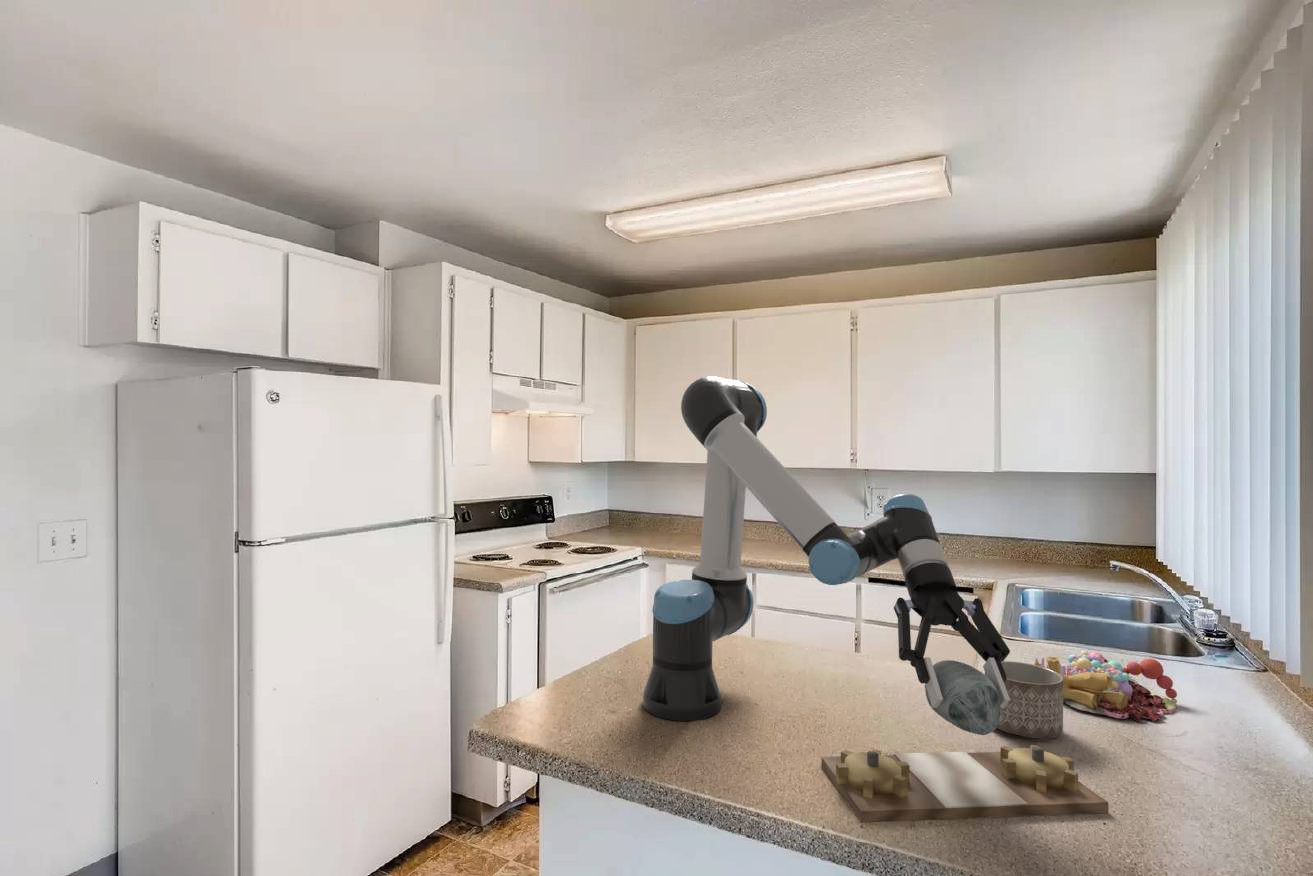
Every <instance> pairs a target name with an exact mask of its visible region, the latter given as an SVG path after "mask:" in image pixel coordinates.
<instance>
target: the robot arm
mask: <svg viewBox="0 0 1313 876" xmlns="http://www.w3.org/2000/svg"><path fill="white" fill-rule="evenodd" d="M680 403H681V404H680V411H681V415H682V419H683V421H684V423H685V425H686V427H687V428H688V430H689V431H690V433H692V435H693V436H694V437H695V438H696V439H697V441H698V442H699V443H700V445H702V446H703V447H704V448H705V450H706V451H707V452H706V455H707V457H706V469H705V483H704V484H705V485H704V500H703V501H704V502H703V513H702V527H701V530H702V531H701V544H700V559H699V563H698V564H697V565H696V566H694V568H693V569H692V571H691V572H692V573H691V579H680V580H677V581H676V580H674V581H670V582H666V583H664V584H662V585H661V586H659V587H658V588H657V589H656V591H655V592H654V595H653V596H654V597H653V605H652V610H651V611H652V616H653V617H652V618H653V619H652V623H653V624H652V667H651V669H650V671H649V675H648V678H647V681H646V683H645V688H644V689H643V694H642V707H643V709H644V710H645V711H646V712H648V713H649V714H650V715H652V716H655V717H658V718H662V719H666V720H672V721H683V722H684V721H686V722H687V721H698V720H703V719H707V718H710V717H713V716H714V715H716V714H718V713H719V712H720V710H721V705H722V704H721V703H722V700H721V699H722V696H721V693H720V689H719V686H718V682H717V679H716V675H715V672H714V669H713V642H715V641H718V640H719V639H721V638H724V637H725V636H730V635H732V634H734V633H736V632H738V631H739V630H740V629H741V628H743V627H744V626H745V625H746V624H747V623H748V621H749V620H750V618H751V617H752V614H753V610H754V596H753V595H754V594H753V592H752V590H751V589H750V588H749V586H748V584H747V580H748V575H747V573H746V571H745V570H744V569H743V567H741V566H742V564H741V563H742V562H741V561H742V550H743V548H742V547H743V534H744V523H745V522H744V519H745V506H746V505H745V504H746V489H748V490H749V492H750V493H751V494H752V495H753V496H754V497H755V498H756V499H757V501H759V503H760V504H761V505H762V506H763V508H765V509H766V510H767V512H768V513H769V514H770V515H771V517H773V519H774V521H776V522H777V524H779V525H780V526H781V528H782V529H783V530H784V531H785V532H786V533H787V534H788V535H789V537H790V538H791V539H792V540H793V541H794V543H795V544H796V545H797V546H798V547H799V548H800V549H801V551H802V552H804V554H805V555H806V556H807V557H808V565H809V566H808V567H809V569H810V572H811V574H812V575H813V577H814V578H815V579H816V580H817V581H819V582H820V583H822V584H824V585H829V586H837V585H843V584H847V583H849V582H852V581H853V580H855V578H858V577H860V576H863V575H864V574H866V573H868V572H870V571H872V570H874V569H877V568H879V567H881V566H883V565H885V564H887V563H889V562H892V561H893V560H896V559H897V560H898V563H899V566H900V570H901V573H902V575H903V577H904V583H905V586H906V588H907V589H906V590H907V592H908V595H909V598H910V599H905V598H903V597H898V598H897V599H896V602H895V603H894V605H893V610H894V612H895V613H894V614H895V615H896V617H897V631H898V632H897V633H898V634H897V636H898V641H897V642H898V658H899V660H900V661H902V662H905V661H909V662H910V664H909V665H911V667H913V668H915V673H916V676H917V680H918V682H919V683H920V684H924V685H925V684H926V687H927V691H928V694H929V697H930V701H931V704H932V708H938V706H939V705H940V703H941V702H942V701H943V697H942V694H941V690H940V687H939V684H938V681H937V678H936V674H935V671H934V668H933V665H934V664H933V662H932V659H931V657H929V656H928V657H927V656H925V653H926V649H927V645H928V639H929V637H930V631H931V627H932V626H935V627H936V626H939V625H942V626H946V627H948V626H950V627H951V628H952V629H953V630H954V631H955V632H958V633H959V634H960V635H961V636H962V637H963V639H965V640H966V642H968V644H969V645H970V646H971V647H972V648H973V649H974V651H975V652H976V653H977V654H978V655H979V656H980V657H981V659H983V661H984V662H985V663H984V664H983V666H982V668H983V671H984V674H985V673H986V676H987V677H988V678H989V679H990V680H991V681H992V682H993V684H994V685H995V687H996V689H997V691H998V694H999V698H1000V708H1004V707H1005V705H1006V704H1007V703H1008V702H1009V701H1010V698H1009V695H1008V693H1007V690H1006V687H1005V685H1004V682H1005V681H1006V678H1007V676H1006V674H1005V671H1004V669H1003V666H1002V664H1001V662H1002V661H1006V660H1005V659H1007V657H1008V656H1009V654H1010V653H1011V650H1010V648H1009V646H1008V645H1007V643H1006V642H1005V640H1004V639H1003V638H1002V636H1001V635H1000V633H999V632H998V630H997V628H996V627H995V625H994V624H993V622H992V621H991V619H990V618H989V616H988V614H987V613H986V611H985V609H984V605H983V601H982V600H981V598H978V597H976V598H974V600H966V599H965V600H964V599H963V597H962V596H960V594H959V592H958V588H957V584H956V581H955V580H954V576H953V574H952V571H951V568H950V567H949V565H950V564H949V562H948V559H947V557H946V555H945V552H944V549H943V547H942V545H941V542H940V539H939V536H938V534H937V531H936V528H935V525H934V521H933V517H932V515H931V514H930V513H929V510H928V508H927V506H926V504H925V502H924V499H923V498H921V497H919V496H918V495H916V494H913V493H912V494H911V493H900V494H897V495H894V496H892V497H891V498H889V499H888V501H887V502H886V503H884V504H883V510H882V512H883V513H882V514H883V517H880V518H878V519H877V520H876V521H874V522H872V523H870V524H868V525H866V526H864V527H862V528H859V529H857V530H854V531H852V532H850V533H846V532H845V531H844V530H843V529H842V528H841V527H840V526H839V525H838V523H836V522H835V520H834V519H833V518H832V517H831V516H830V515H829V514H828V512H826V510H824V508H823V507H822V506H821V505H820V504H819V503H818V502H817V500H815V499H814V497H813V496H811V495H810V493H809V492H808V491H807V490H806V489H805V488H804V487H803V486H802V484H801V483H800V482H798V480H797V479H796V478H795V477H794V476H793V475H792V473H790V472H789V470H788V469H787V468H785V466H784V465H783V464H782V463H781V462H780V461H779V460H778V458H777V457H776V456H775V455H774V454H772V452H771V451H770V450H769V449H768V447H766V446H765V445H764V444H763V442H762V441H760V439H759V438H758V432H759V431H760V430H761V429H762V428H763V426H764V425H765V422H766V420H767V415H768V412H767V411H768V409H767V403H766V399H765V397H764V396H763V395H762V393H761V392H760V391H759V389H758V388H756V387H755V386H753V385H751V384H749V383H748V382H745V381H742V380H736V379H728V378H724V377H719V376H714V375H713V376H704V377H700V378H698V379H696V380H695V381H693V382H692V383H691V384H690V385H689V386H688V387H687V388H686V390H685V391H684V393H683V395H682V398H681V401H680ZM963 609H964V610H965V611H966V612H967V613H965V612H964V611H963ZM912 610H913V611H914V612H915V613H916V614H917V615H918V616H919V617H921V619H920V623H919V625H918V626H919V628H918V633H917V637H916V641H915V645H914V649H912V638H911V637H912V636H911V619H910V618H911V616H910V613H911V611H912ZM968 616H969V617H971V620H972V622H973V623H974V624H973V623H972V622H971V621H970V620H969V617H968ZM974 625H975V626H974ZM924 656H925V657H924ZM932 708H931V709H932Z"/></svg>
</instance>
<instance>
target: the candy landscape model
mask: <svg viewBox="0 0 1313 876" xmlns="http://www.w3.org/2000/svg"><path fill="white" fill-rule="evenodd" d="M1045 661H1046V663H1047V664H1046V666H1045ZM1067 661H1068V662H1069V663H1068V664H1067V665H1066V666H1065V665H1062V663H1060V659H1059V657H1057V656H1056V657H1054V656H1047V657H1046V659H1045V657H1042V658H1041V663H1040V662H1039V660H1038V657H1036V658H1035V660H1034V665H1038V666H1041V667H1045V668H1048V669H1051V670H1053V671H1055V672H1057V673H1059V674H1060V675H1061V676H1062V677H1063V703H1065V704H1066V705H1069V706H1070V707H1073V708H1074V709H1077V710H1080V711H1084V712H1090V713H1092V714H1093V713H1094V714H1099V715H1105V716H1107V717H1112V718H1115V719H1118V720H1119V719H1120V720H1121V719H1123V720H1124V719H1128V718H1132V719H1133V720H1135V721H1136V722H1139V723H1140V722H1141V719H1148V720H1151V721H1153V722H1156V721H1158V720H1159V719H1161V718H1163V717H1164V714H1171V713H1175V710H1176V709H1177V706H1178V705H1177V703H1178V700H1177V696H1178V693H1177V691H1176V690H1175V689H1174V688H1172V687H1173V685H1174V682H1173V680H1172V678H1171V677H1169V676H1168V675H1164V672H1165V671H1164V667H1163V665H1162V664H1161V663H1160V662H1159V661H1158V660H1156V659H1154V658H1145V659H1143V660H1141V661H1140V663H1138V662H1136V661H1130V662H1128V663H1127V664H1126V667H1123V666H1122V664H1121V663H1120V662H1119V661H1117V660H1110V661H1109V660H1107V659H1106V658H1105V657H1104V656H1103V654H1102V653H1101V652H1098V651H1092V652H1088V651H1087V650H1082V651H1081V652H1080V653H1079V654H1075V653H1073V654H1070V655H1068V657H1067ZM1130 675H1132V676H1130ZM1139 675H1142V676H1144V678H1147V679H1149V680H1156V681H1155V682H1156V685H1157V686H1158V687H1159V688H1160V689H1162V690H1165V695H1166V696H1162V695H1161V694H1158V693H1155V692H1152V691H1150V690H1149V688H1147V687H1145V686H1143V685H1142V684H1139V683H1138V681H1136V680H1135V678H1134V677H1133V676H1139Z"/></svg>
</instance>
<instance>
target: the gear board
mask: <svg viewBox="0 0 1313 876" xmlns="http://www.w3.org/2000/svg"><path fill="white" fill-rule="evenodd" d="M820 760H821V766H820V767H821V768H822V769H823V770H824V772H825V774H826V775H827V776H828V778H829V779H830V781H831V782H832V783H833V785H834V786H835V787H836V789H837V790H838V792H839V793H840V795H841V796H842V797H843V799H844V800H845V801H846V803H847V805H848V806H849V807H850V809H851V811H853V813H854V815H855V816H856V817H857V819H858V820H859V821H860V823H875V822H876V823H877V822H879V823H881V822H896V821H897V822H904V821H908V822H909V821H931V820H932V821H933V820H956V819H957V820H958V819H961V820H962V819H981V818H984V819H985V818H1007V817H1008V818H1010V817H1011V818H1012V817H1035V816H1037V817H1039V816H1041V817H1042V816H1060V815H1061V816H1063V815H1065V816H1067V815H1087V814H1088V815H1089V814H1109V801H1108V800H1106V799H1104V798H1103V797H1102V796H1100V795H1099V794H1097V793H1096V792H1095V791H1093V790H1092V789H1090V788H1089V787H1087V786H1086V785H1084V784H1083V783H1082V782H1080V781H1079V772H1077V771H1075V760H1074V759H1072V758H1071V757H1069V756H1058V755H1056V754H1053V753H1051V752H1049V751H1045V749H1044V748H1042V747H1040V746H1038V745H1033V744H1030V745H1029V747H1018V748H1017V747H1016V748H1011V746H1010V747H1009V746H1007V745H1003V746H1000V751H983V752H982V751H980V752H966V751H942V752H941V751H940V752H937V751H935V752H907V753H903V752H902V753H893V754H882V750H879V749H874V748H873V749H872V751H866V752H865V751H864V752H863V751H862V752H852V751H849V750H847V749H845V750H841V751H840V755H839V756H835V755H834V756H821V759H820Z"/></svg>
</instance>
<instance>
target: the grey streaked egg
mask: <svg viewBox="0 0 1313 876" xmlns="http://www.w3.org/2000/svg"><path fill="white" fill-rule="evenodd" d="M932 665H933V668H934V671H935V674H936V678H937V681H938V684H939V687H940V690H941V694H942V697H943V701H942V702H941V703H940V705H939V706H938V708H932V704H931V701H930V697H929V694H928V691H927V687H926V684H925V683H924V689H925V690H924V691H925V697H926V700H927V702H928V705H929V706H930V708H931V709H932V710H933V711H934V712H935V713H936V714H937V715H939V716H940V717H941V718H942V719H943V720H945V721H946V722H947V723H950V724H952V725H953V726H954V727H956V728H958V729H960V730H962V731H965V732H968V733H971V734H975V735H980V736H986V735H990V734H991V733H993V732H995V730H996V729H997V728H996V727H997V725H998V722H999V719H1000V698H999V694H998V691H997V689H996V687H995V685H994V684H993V682H992V681H991V680H990V679H989V678H988V677H987V676H986V675H985V673H983V672H982V671H980V670H979V669H977V668H975V667H973V666H972V665H969V664H967V663H965V662H961V661H958V660H953V659H952V660H951V659H949V660H948V659H946V660H941V661H938V662H936V663H934V664H932Z"/></svg>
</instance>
